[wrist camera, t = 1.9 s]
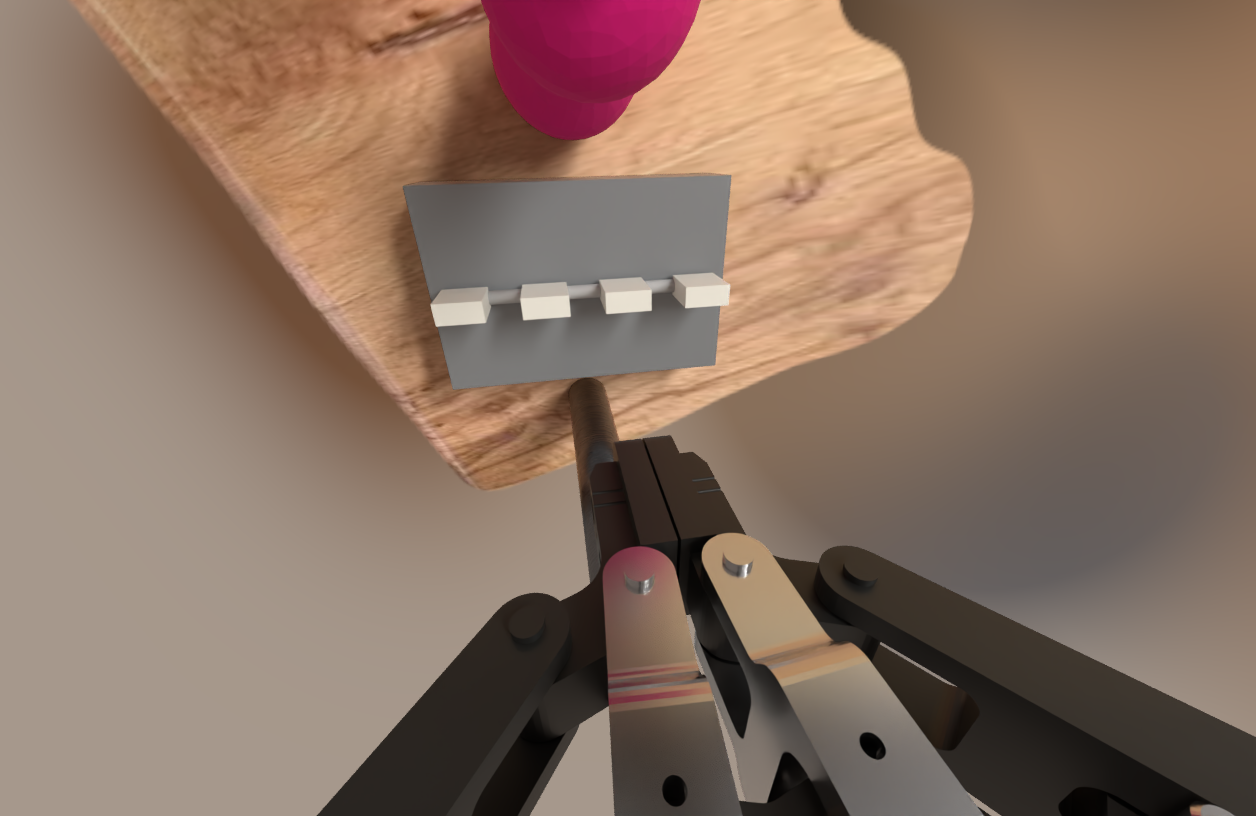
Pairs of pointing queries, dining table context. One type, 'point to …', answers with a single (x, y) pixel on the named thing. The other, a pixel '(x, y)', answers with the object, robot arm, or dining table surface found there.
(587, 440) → the black cord post
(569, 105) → the pepper mill
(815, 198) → the dining table surface
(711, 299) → the breaker paddles
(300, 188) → the dining table surface
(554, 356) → the breaker panel
